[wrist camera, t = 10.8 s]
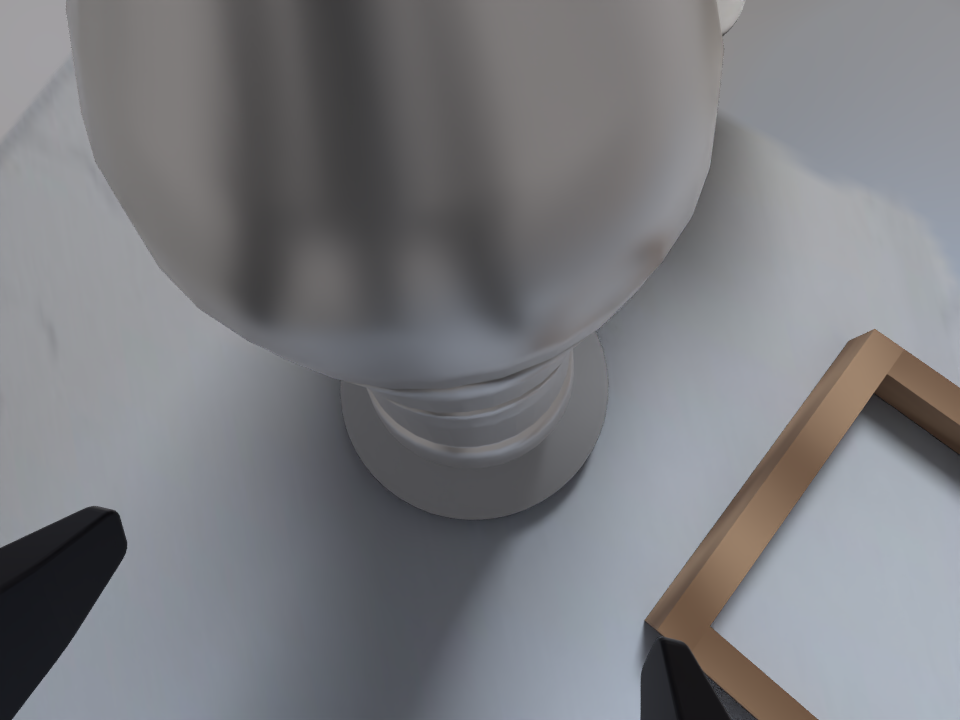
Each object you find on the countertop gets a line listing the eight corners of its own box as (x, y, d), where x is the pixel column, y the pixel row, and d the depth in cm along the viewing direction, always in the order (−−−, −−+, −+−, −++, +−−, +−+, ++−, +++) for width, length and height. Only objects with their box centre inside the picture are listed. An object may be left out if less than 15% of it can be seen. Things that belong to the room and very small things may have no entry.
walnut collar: (1002, 936, 16) (1052, 978, 15) (644, 620, 19) (656, 630, 17) (1188, 580, 19) (1246, 586, 17) (848, 340, 21) (874, 328, 20)
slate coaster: (623, 503, 20) (630, 503, 19) (353, 533, 20) (345, 534, 19) (581, 255, 23) (585, 244, 22) (342, 281, 22) (335, 271, 22)
